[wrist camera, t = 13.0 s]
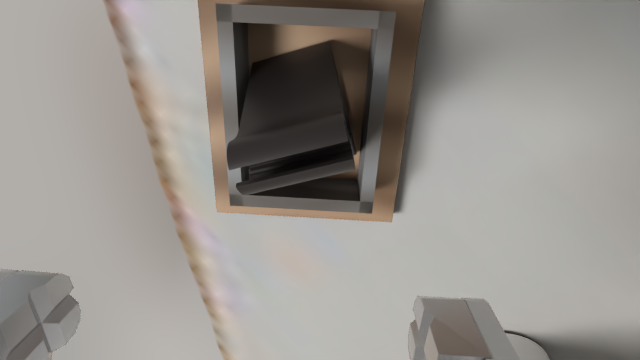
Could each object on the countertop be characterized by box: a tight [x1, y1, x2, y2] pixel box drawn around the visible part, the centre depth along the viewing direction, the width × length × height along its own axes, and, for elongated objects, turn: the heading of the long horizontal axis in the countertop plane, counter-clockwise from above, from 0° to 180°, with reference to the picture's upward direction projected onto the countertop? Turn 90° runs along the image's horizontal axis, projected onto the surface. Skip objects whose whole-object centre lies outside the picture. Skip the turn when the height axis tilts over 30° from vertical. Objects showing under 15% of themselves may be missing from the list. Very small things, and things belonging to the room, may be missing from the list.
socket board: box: [198, 0, 425, 222], centre depth 26 cm, size 20×16×6 cm
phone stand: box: [227, 41, 357, 195], centre depth 22 cm, size 9×6×12 cm, turn 15°
